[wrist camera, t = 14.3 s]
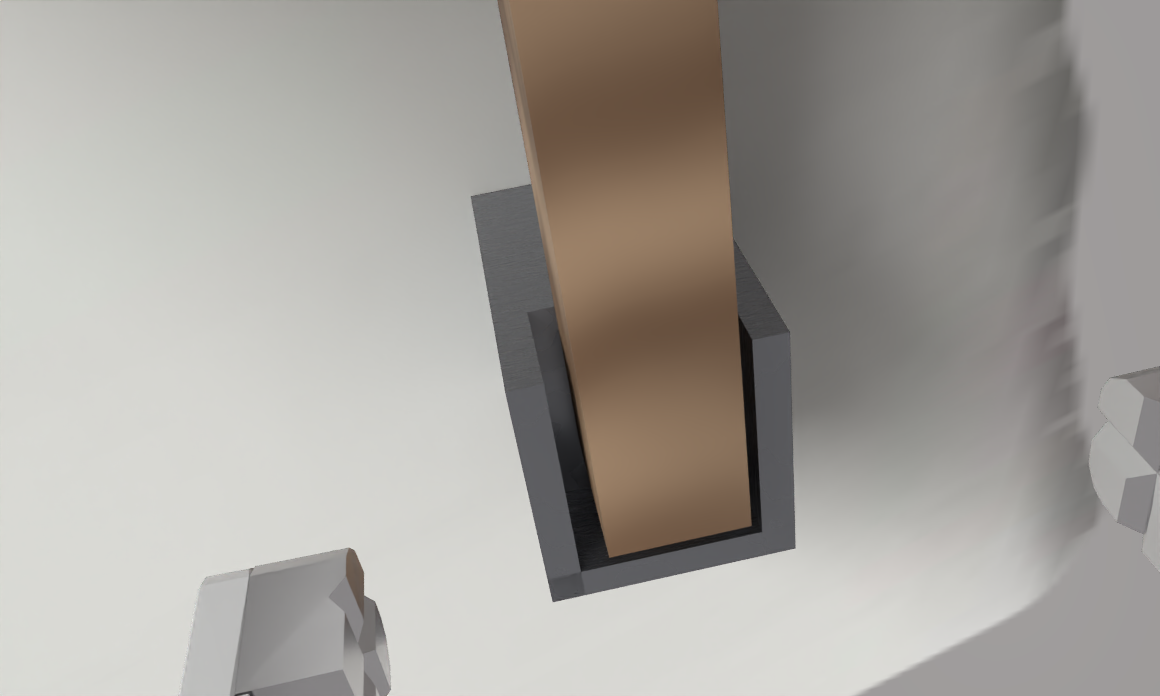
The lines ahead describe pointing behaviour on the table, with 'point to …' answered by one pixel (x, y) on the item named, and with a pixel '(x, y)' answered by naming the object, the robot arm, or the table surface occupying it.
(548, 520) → the cup bracket
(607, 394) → the rail
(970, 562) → the table surface
